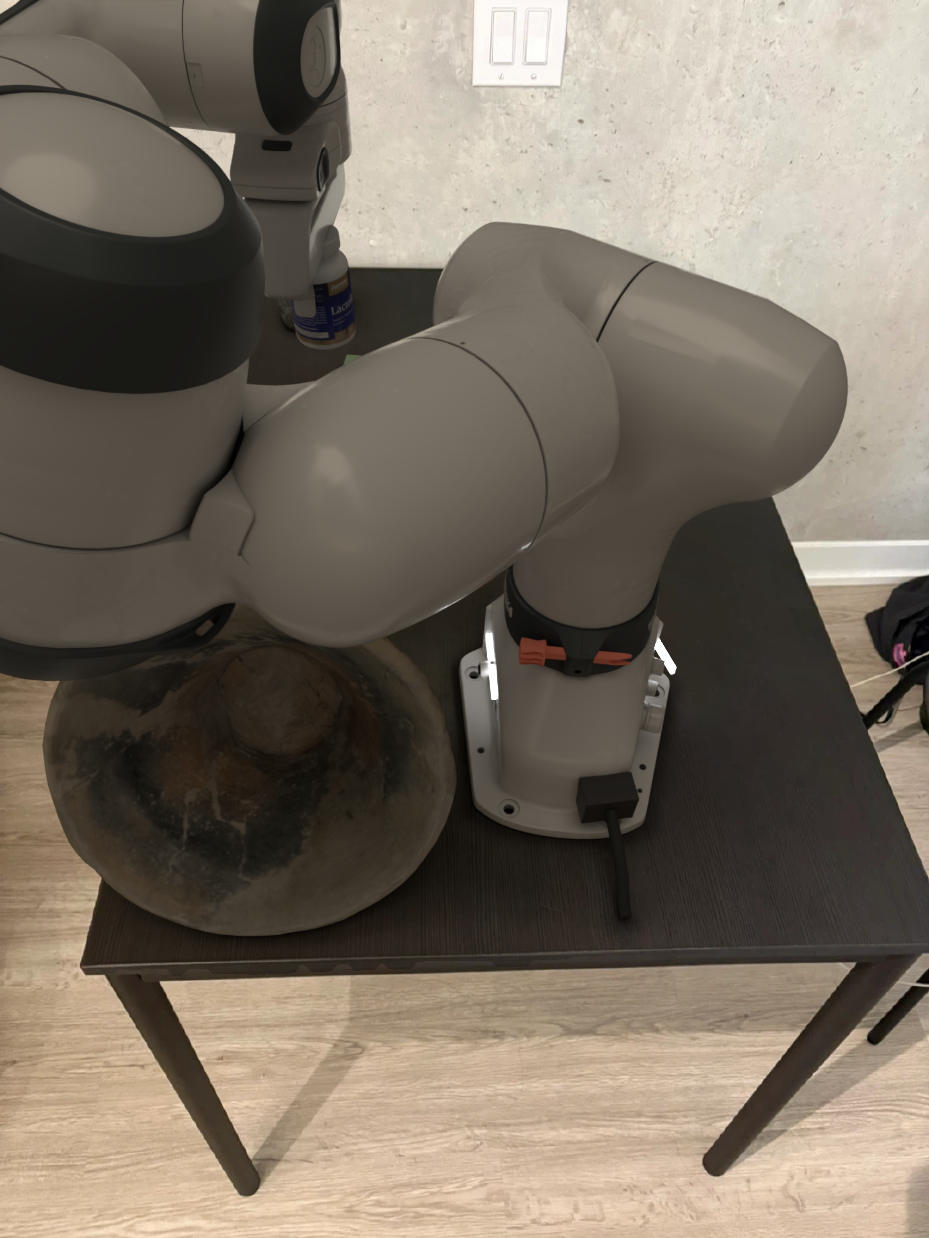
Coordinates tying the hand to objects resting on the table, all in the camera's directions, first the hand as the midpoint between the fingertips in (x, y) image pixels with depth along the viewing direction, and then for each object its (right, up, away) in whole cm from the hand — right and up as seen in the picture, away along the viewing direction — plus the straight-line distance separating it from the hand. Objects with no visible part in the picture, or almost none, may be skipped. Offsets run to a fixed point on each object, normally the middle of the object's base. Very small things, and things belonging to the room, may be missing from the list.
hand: (314, 292), depth 78 cm
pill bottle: (+1, -3, +4) cm, 5 cm away
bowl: (-1, -35, -8) cm, 36 cm away
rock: (-6, +11, +37) cm, 39 cm away
